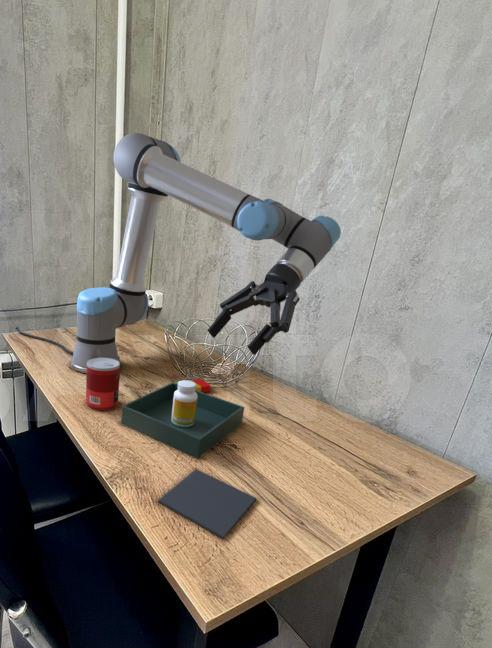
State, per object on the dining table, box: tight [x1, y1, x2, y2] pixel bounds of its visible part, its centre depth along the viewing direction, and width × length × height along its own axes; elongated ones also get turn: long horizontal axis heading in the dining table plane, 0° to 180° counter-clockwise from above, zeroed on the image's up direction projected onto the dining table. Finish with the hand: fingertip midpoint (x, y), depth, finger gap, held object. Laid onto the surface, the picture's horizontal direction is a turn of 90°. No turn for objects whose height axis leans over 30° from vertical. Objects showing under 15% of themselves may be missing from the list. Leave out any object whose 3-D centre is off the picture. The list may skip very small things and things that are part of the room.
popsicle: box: [174, 378, 212, 393], centre depth 110 cm, size 6×15×2 cm, turn 114°
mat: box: [158, 468, 257, 540], centre depth 67 cm, size 12×12×1 cm
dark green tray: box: [120, 381, 245, 459], centre depth 92 cm, size 20×20×4 cm
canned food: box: [85, 358, 121, 411], centre depth 98 cm, size 8×8×11 cm
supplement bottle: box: [171, 379, 198, 427], centre depth 91 cm, size 5×5×10 cm
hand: (229, 342), depth 91 cm, fingers open, 13 cm apart
